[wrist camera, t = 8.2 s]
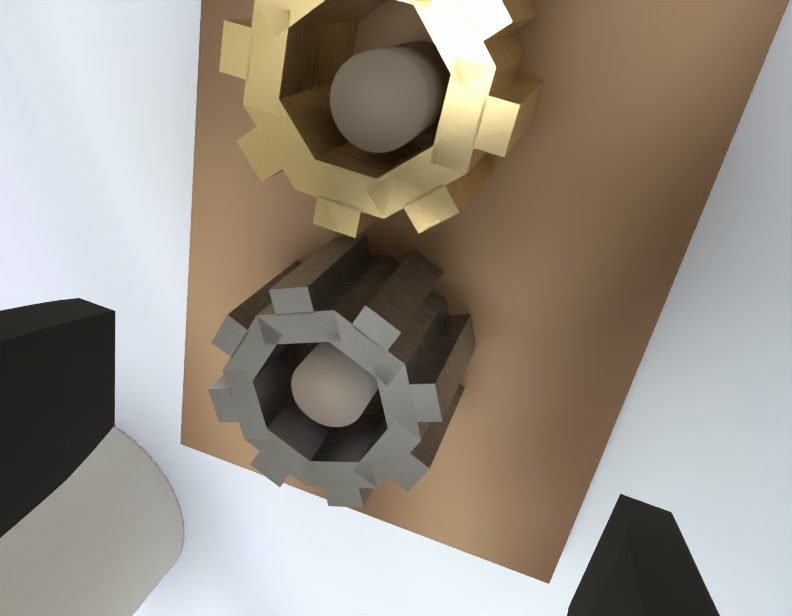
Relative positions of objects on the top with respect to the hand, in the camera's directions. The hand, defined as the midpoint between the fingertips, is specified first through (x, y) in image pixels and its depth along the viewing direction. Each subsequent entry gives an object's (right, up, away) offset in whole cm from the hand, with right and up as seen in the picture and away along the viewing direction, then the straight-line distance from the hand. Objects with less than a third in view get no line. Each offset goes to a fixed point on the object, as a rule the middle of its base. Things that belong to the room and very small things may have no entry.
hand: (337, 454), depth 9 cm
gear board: (+2, +4, +8) cm, 10 cm away
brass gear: (+1, +7, +6) cm, 9 cm away
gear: (0, +1, +9) cm, 9 cm away
